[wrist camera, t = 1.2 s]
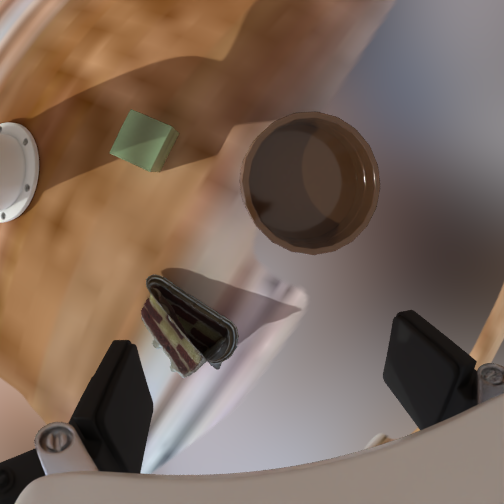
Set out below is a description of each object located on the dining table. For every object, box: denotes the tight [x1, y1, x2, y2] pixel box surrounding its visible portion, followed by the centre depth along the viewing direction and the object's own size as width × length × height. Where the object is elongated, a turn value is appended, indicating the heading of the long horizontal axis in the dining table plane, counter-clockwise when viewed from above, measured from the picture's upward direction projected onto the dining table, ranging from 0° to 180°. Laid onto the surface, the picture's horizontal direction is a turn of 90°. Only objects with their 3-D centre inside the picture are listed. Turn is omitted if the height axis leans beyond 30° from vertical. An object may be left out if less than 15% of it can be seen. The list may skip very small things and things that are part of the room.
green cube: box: [110, 109, 179, 172], centre depth 27 cm, size 4×4×4 cm
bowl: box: [239, 112, 380, 255], centre depth 29 cm, size 13×13×5 cm
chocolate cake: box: [141, 275, 238, 378], centre depth 32 cm, size 10×7×12 cm
